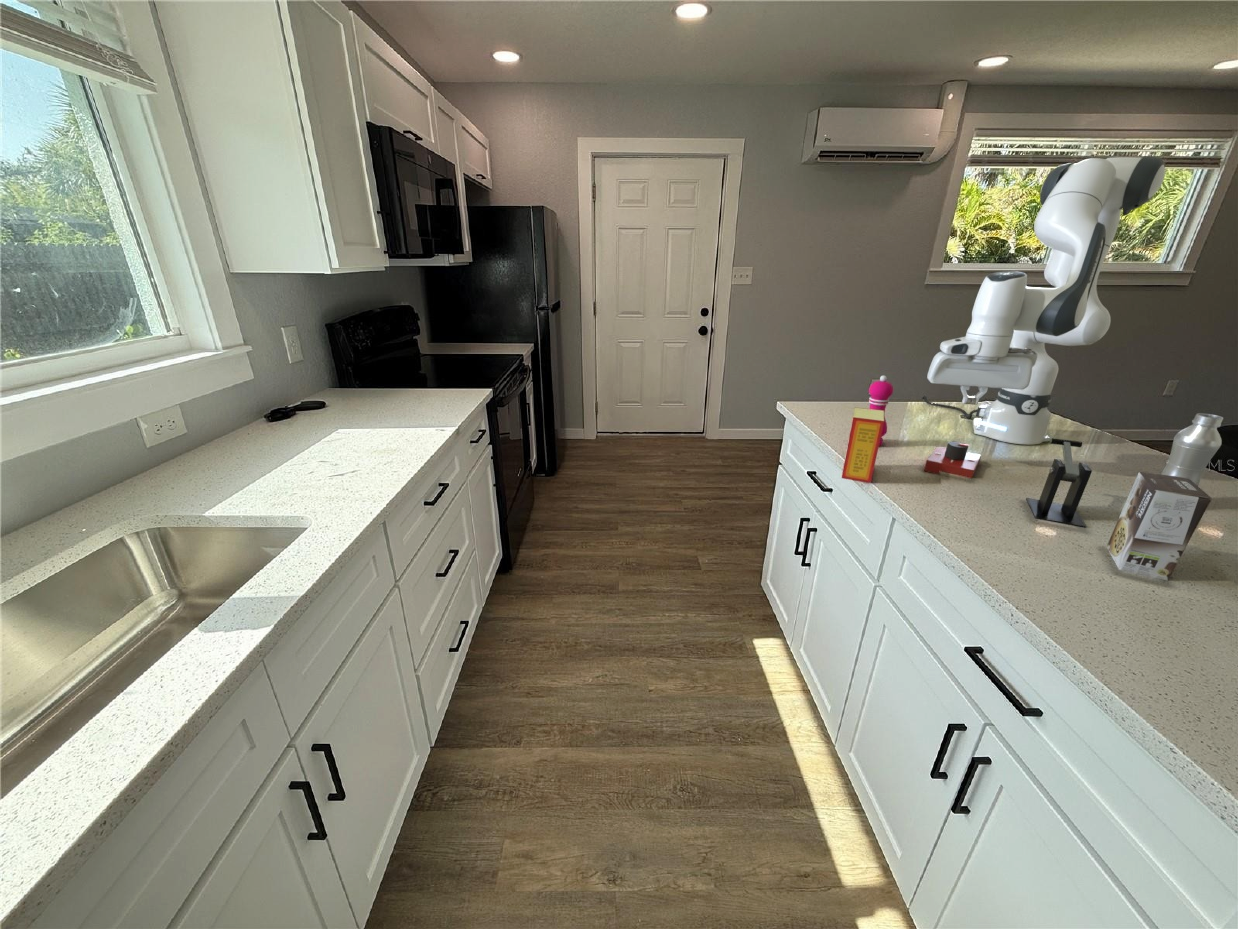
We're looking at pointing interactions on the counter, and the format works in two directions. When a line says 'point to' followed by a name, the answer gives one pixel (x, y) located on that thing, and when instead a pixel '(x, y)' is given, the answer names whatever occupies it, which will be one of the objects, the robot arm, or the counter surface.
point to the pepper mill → (880, 398)
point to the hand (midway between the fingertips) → (969, 403)
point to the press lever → (1068, 459)
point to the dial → (956, 450)
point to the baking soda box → (863, 444)
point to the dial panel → (952, 463)
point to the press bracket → (1067, 510)
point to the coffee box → (1156, 524)
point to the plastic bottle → (1194, 448)
